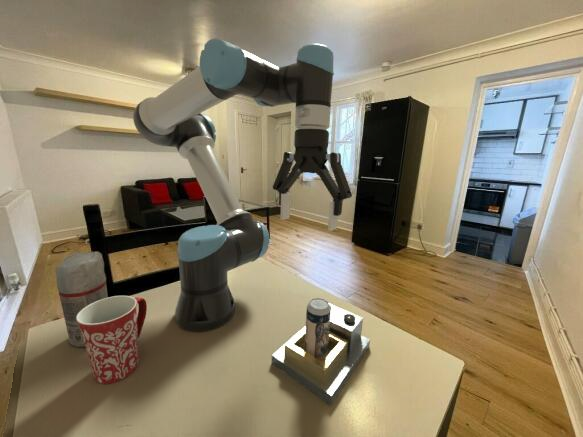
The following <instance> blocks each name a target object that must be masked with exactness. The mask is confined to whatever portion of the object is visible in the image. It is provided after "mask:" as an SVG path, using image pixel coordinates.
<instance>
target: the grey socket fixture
mask: <svg viewBox="0 0 583 437" xmlns="http://www.w3.org/2000/svg"><path fill="white" fill-rule="evenodd" d="M328 303H329V302H328ZM329 306H330V308H331V316H330V328H329V340H328V352H327V357H326V359H325V360H324V361H320V360H319V359H317V358H315V357H314V356H312V355H310V354H309V353H307V352H305V351H304V347H305V329H306V325H305V326H303V327H302V328H301V329H300V330H299V331H298V332H297V333H295V334H294V335H293V336H292V337H291V338H289V339H288V341H286V342H285V343H284V344H283V345H282V346H280V347H279V348H278V349H277V350H276V351H274V352H273V354H271V364H272V365H273V366H275V367H276V368H278V369H279V370H280V371H281V372H283V373H284V374H286V375H287V376H289V377H290V378H292V379H293V380H294V381H296V382H297V383H299V384H300V385H302V386H303V387H305V388H306V389H307V390H309V391H310V392H311V393H313V394H314V395H316V396H317V397H319V399H321V400H323V401H324V402H326V403H327V404H329V405H330V406H332V404H333V402H334V401H335V400H336V399H337V396H339V393H340V392H341V390H342V389H343V388H344V386H345V384H346V382H348V380H349V378H350V376H351V375H352V374H353V372H355V369H356V368H357V367H358V365H359V363H360V362H361V360H362V359H363V357H364V355H365V354H366V353H367V351H368V349H369V348H370V343H371V339H370V338H368V337H366V336H364V335H362V332H363V324H364V323H363V322H364V317H363V316H360V315H358V314H356V313H353V312H350V311H349V310H346V309H343V308H341V307H339V306H336V305H334V304H332V303H329Z"/></svg>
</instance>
